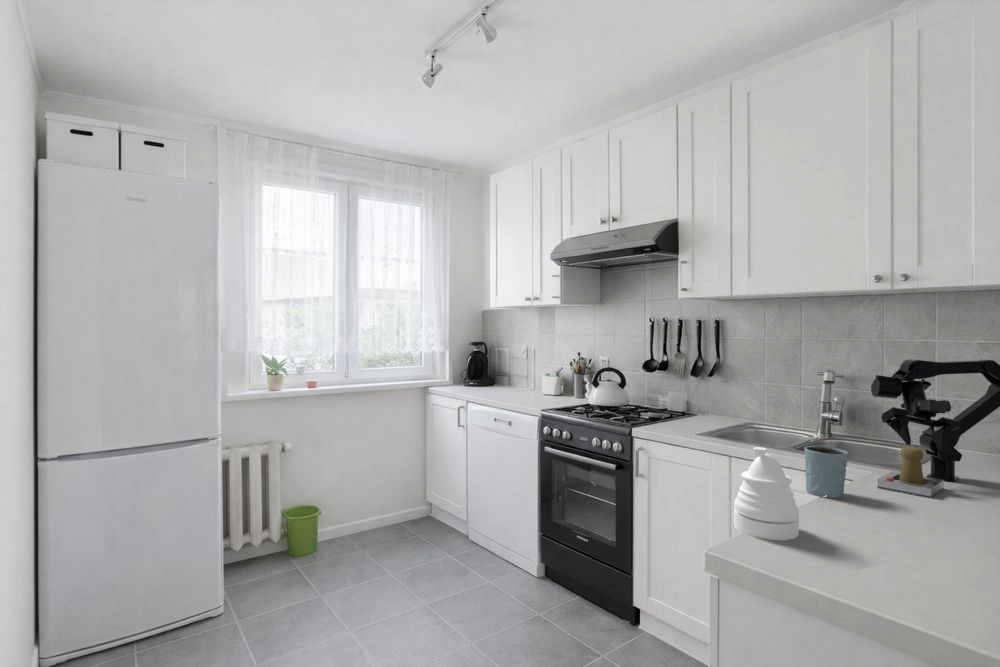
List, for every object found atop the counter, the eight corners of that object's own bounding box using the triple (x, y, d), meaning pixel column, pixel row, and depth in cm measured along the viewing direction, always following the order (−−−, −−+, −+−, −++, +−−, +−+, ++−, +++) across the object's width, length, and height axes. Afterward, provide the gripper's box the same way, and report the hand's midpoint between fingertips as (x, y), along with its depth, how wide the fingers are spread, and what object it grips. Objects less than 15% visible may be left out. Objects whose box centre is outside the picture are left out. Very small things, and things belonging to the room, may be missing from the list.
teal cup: (804, 486, 153) (804, 444, 153) (846, 492, 148) (847, 448, 148) (803, 495, 144) (804, 450, 144) (848, 501, 139) (849, 455, 139)
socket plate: (892, 479, 161) (892, 469, 161) (943, 488, 152) (943, 477, 152) (877, 487, 152) (877, 476, 152) (930, 498, 143) (930, 486, 143)
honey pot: (769, 544, 110) (770, 456, 110) (721, 523, 122) (721, 444, 122) (812, 535, 116) (813, 451, 115) (761, 516, 127) (762, 440, 127)
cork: (930, 490, 148) (930, 450, 148) (905, 488, 149) (905, 449, 149) (917, 484, 154) (917, 445, 154) (893, 483, 155) (894, 444, 155)
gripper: (901, 381, 157) (911, 430, 149) (967, 394, 156) (981, 445, 148) (876, 397, 166) (885, 444, 158) (938, 409, 165) (950, 458, 157)
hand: (925, 447), depth 155 cm, fingers open, 9 cm apart
